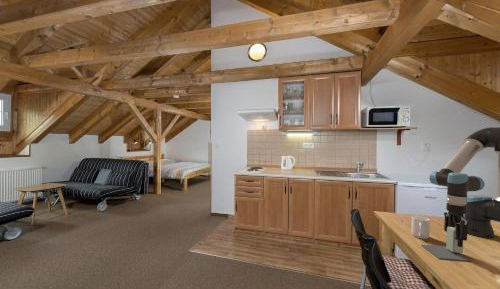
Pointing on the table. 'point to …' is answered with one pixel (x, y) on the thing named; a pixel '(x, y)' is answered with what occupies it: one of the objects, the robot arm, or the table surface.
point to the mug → (420, 227)
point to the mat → (445, 253)
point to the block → (451, 239)
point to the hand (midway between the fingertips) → (454, 249)
